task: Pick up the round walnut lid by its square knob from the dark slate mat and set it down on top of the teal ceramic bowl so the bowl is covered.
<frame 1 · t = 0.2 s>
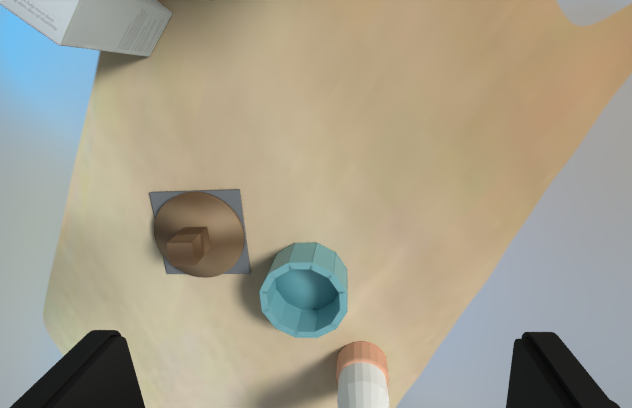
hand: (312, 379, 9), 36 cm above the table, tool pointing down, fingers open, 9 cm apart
bowl: (308, 278, 50), on the table
lid: (201, 234, 48), resting on mat
salt shaker: (361, 360, 53), on the table
mat: (202, 233, 49), on the table
skincare box: (135, 13, 41), on the table
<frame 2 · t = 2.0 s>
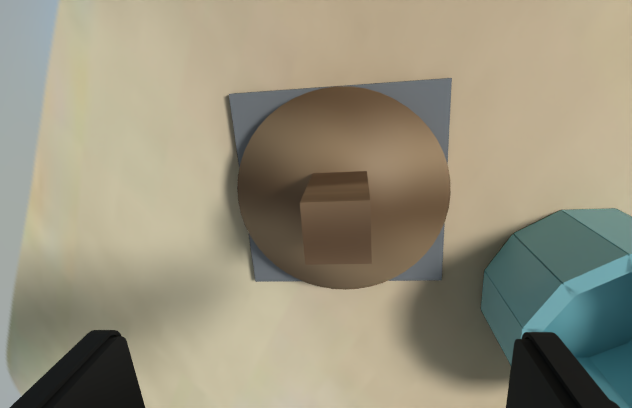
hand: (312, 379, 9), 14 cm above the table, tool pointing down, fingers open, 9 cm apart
bowl: (572, 290, 22), on the table
lid: (341, 192, 21), resting on mat
mat: (341, 190, 22), on the table
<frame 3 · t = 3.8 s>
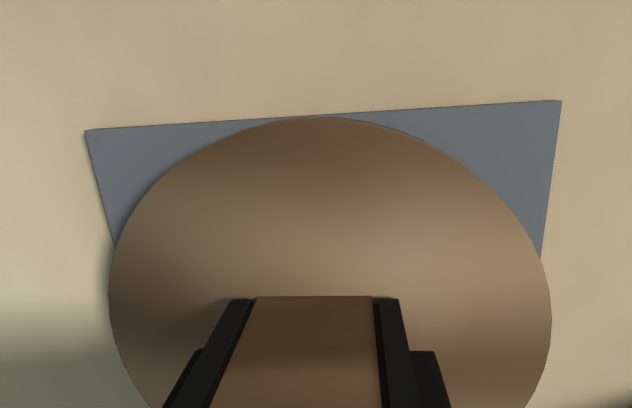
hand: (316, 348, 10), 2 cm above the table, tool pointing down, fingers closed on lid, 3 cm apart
lid: (320, 320, 11), resting on mat, touching gripper
mat: (321, 312, 11), on the table
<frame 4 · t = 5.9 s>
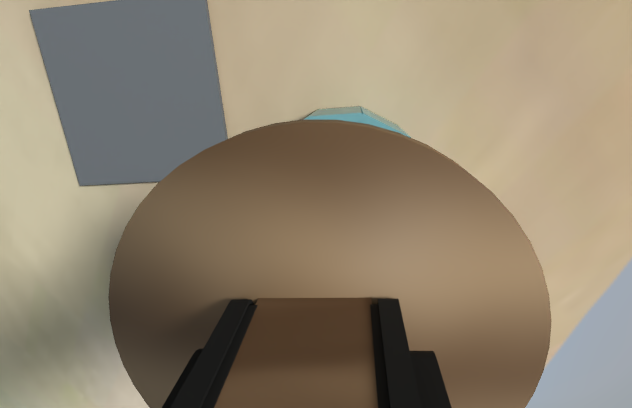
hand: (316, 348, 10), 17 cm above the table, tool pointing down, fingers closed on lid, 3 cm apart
bowl: (342, 184, 26), on the table
lid: (320, 322, 11), point 16 cm above the table, touching gripper
mat: (138, 97, 25), on the table
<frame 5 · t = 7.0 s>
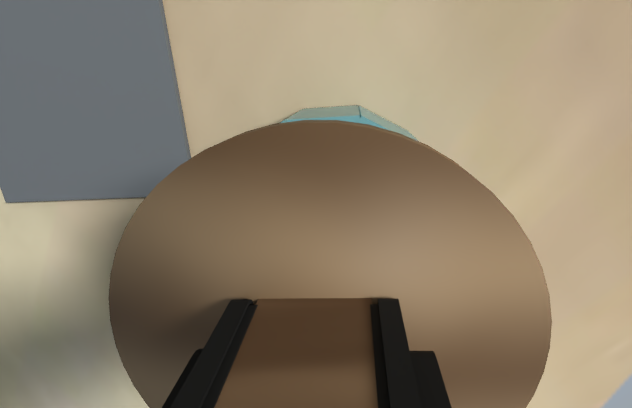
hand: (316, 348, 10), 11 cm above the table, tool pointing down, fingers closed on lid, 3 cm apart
bowl: (335, 204, 20), on the table
lid: (320, 322, 11), point 10 cm above the table, touching gripper
mat: (73, 92, 20), on the table
when the fingers open (8 cm above the table, at t = 7.9 s): lid stays where it is, resting on bowl.
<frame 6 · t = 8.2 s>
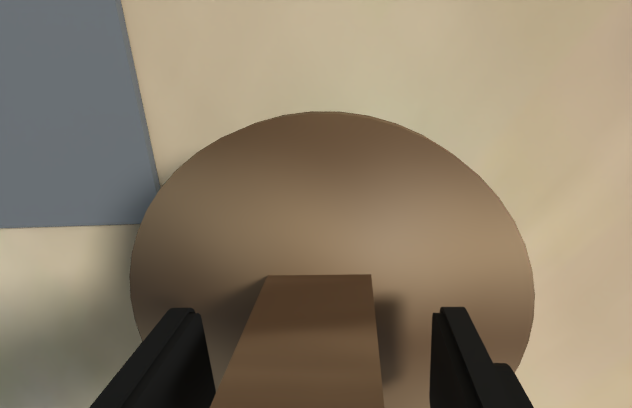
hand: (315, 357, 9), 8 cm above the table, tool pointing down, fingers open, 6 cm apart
lid: (324, 300, 12), point 5 cm above the table, touching bowl
mat: (15, 100, 16), on the table
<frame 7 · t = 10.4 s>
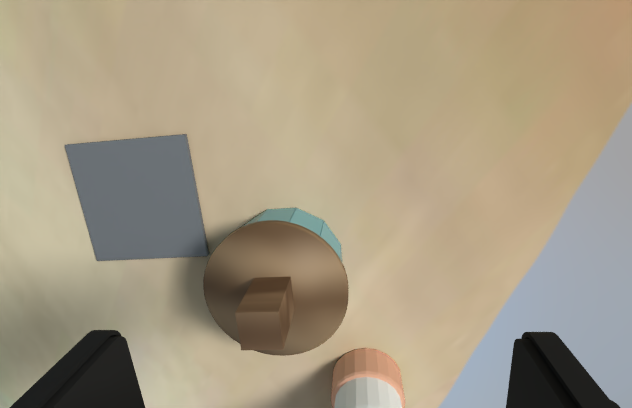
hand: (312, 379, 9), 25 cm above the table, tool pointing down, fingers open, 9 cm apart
bowl: (287, 260, 36), on the table
lid: (277, 287, 30), point 5 cm above the table, touching bowl
salt shaker: (366, 375, 39), on the table
mat: (140, 200, 36), on the table
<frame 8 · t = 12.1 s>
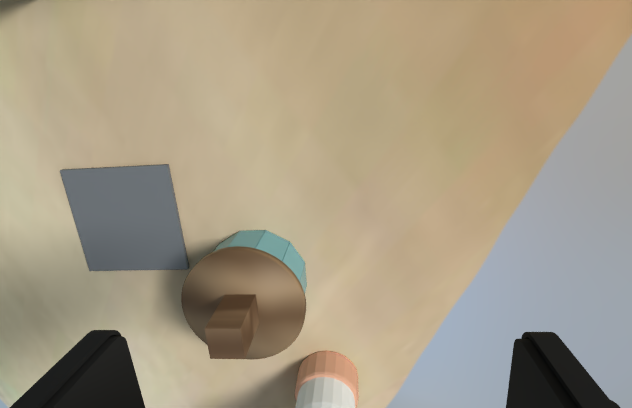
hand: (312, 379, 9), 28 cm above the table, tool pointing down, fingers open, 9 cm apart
bowl: (258, 274, 41), on the table
lid: (245, 302, 35), point 5 cm above the table, touching bowl
salt shaker: (328, 373, 44), on the table
mat: (127, 220, 40), on the table
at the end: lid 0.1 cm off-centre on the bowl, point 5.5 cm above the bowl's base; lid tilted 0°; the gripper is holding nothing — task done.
